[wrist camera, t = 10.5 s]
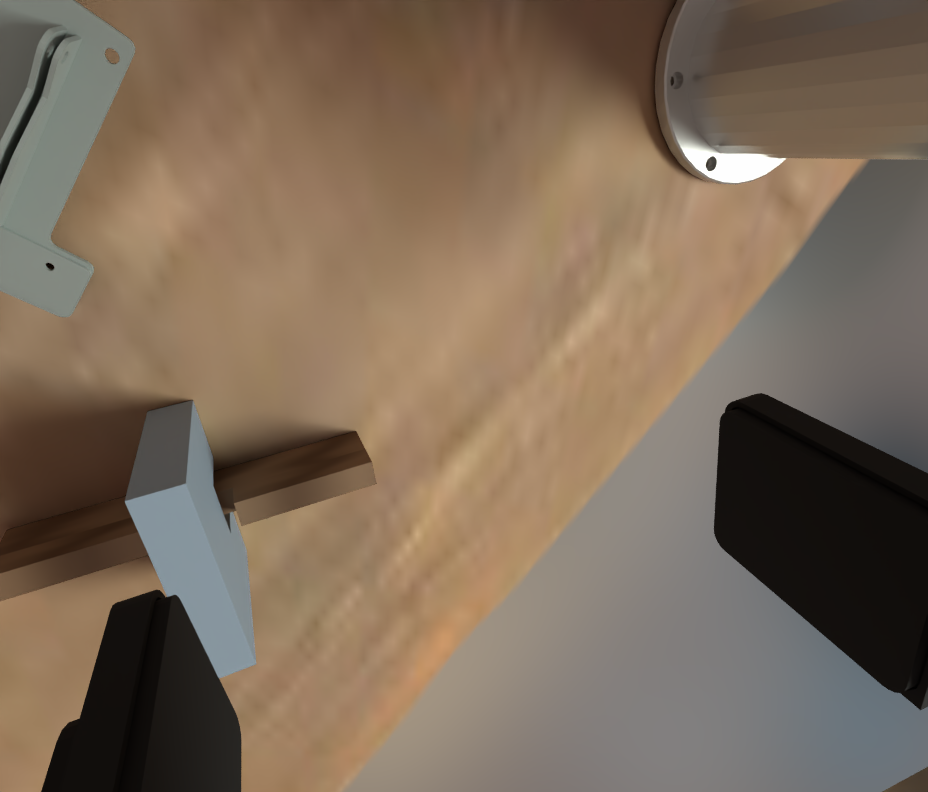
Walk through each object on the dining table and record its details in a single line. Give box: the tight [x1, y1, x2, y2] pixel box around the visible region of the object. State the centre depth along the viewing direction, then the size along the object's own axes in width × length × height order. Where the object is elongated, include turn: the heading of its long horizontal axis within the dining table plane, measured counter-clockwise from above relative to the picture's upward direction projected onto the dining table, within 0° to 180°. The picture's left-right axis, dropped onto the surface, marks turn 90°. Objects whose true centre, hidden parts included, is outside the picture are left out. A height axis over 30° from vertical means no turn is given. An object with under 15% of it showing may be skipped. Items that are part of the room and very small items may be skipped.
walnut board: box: [0, 431, 377, 601], centre depth 31 cm, size 18×1×4 cm, turn 97°
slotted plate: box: [125, 400, 256, 678], centre depth 29 cm, size 10×2×9 cm, turn 7°
